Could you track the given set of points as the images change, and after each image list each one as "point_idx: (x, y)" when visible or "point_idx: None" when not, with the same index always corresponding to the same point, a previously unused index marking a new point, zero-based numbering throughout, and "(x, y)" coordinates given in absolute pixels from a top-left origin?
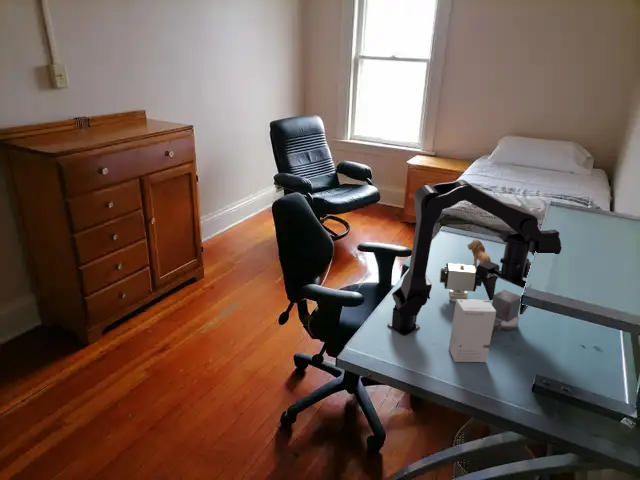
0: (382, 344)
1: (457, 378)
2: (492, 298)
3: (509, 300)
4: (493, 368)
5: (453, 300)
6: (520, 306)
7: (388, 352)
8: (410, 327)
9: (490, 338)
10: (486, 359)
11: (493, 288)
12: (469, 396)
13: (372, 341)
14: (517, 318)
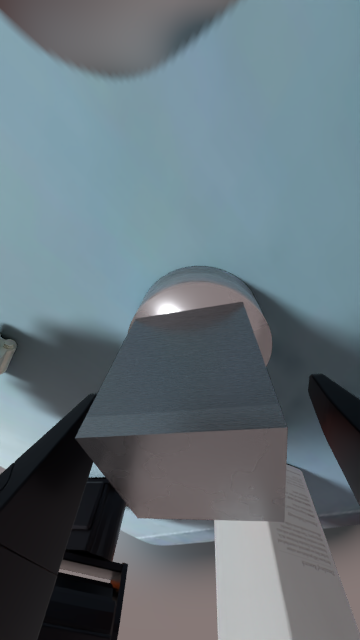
0: (145, 520)
1: None
2: None
3: (252, 510)
4: (326, 470)
5: (4, 371)
6: (356, 493)
7: (168, 524)
8: (124, 504)
9: (337, 574)
10: (304, 479)
11: (49, 484)
12: (334, 521)
13: (132, 523)
14: (259, 322)
